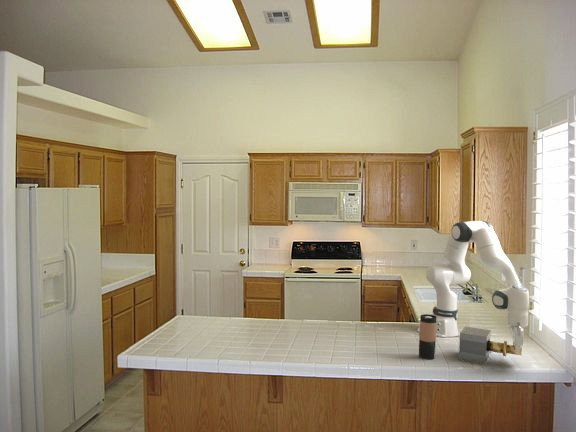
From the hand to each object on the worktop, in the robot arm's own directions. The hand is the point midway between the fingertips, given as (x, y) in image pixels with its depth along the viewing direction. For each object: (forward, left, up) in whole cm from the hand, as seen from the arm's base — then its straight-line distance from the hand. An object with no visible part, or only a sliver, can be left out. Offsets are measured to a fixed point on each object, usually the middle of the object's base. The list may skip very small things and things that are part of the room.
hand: (516, 350), depth 247 cm
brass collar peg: (-5, 0, -4) cm, 6 cm away
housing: (-18, 0, -7) cm, 20 cm away
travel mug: (-38, -12, -7) cm, 41 cm away
